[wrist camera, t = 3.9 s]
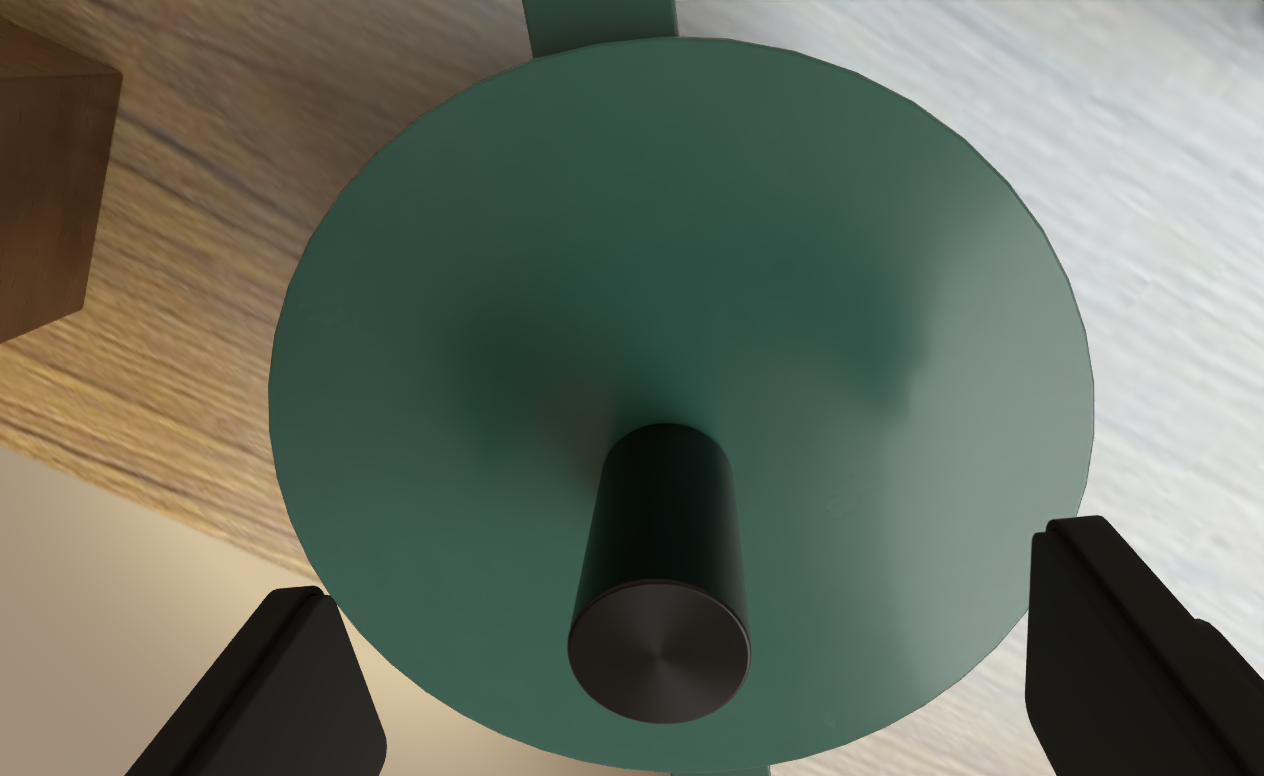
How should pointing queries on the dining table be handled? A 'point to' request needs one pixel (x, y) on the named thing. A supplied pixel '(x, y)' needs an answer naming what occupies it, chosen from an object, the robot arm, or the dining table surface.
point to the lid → (679, 404)
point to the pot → (592, 13)
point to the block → (49, 175)
